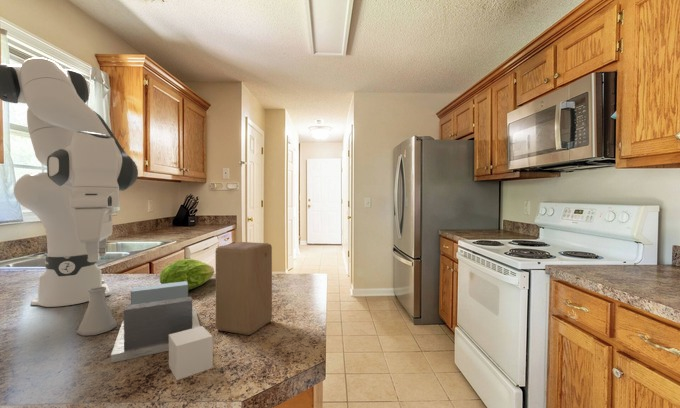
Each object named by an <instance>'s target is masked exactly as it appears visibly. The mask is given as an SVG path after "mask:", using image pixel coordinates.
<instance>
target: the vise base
mask: <svg viewBox="0 0 680 408" xmlns="http://www.w3.org/2000/svg"><path fill="white" fill-rule="evenodd" d="M200 326H201V325H200V321H199V318H198V314H197V311H196V309H193V298H192V296H188V297H184V298H177V299H170V300H163V301H156V302H148V303H141V304H134V305H131V304H128V305H125V306H124V309H123V320H122V322H121V324H120V328H119V331H118V334H117V336H116V340H115V342H114V346H113V348H112V351H111V353H110V363H111V364H113V363H117V362H122V361H126V360H131V359H132V360H133V359H135V358H136V359H137V358H140V357H141V358H142V357H145V356H146V357H147V356H149V355H154V354H158V353H164V352H169V334H173V333H177V332H181V331H185V330H189V329H193V328H196V327H200Z"/></svg>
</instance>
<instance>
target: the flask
mask: <svg viewBox="0 0 680 408" xmlns="http://www.w3.org/2000/svg"><path fill="white" fill-rule="evenodd" d="M105 290H106V287H95V288H91V289H89V290H88V292H90V300H89V301H88V304H87V308H86V310H85V312H84V315H83V318H82V320H81V322H80V324H79V326H78V328H77V331H76V334H77V335H80V336H97V335H100V334H103V333H106V332H110V331H112V330H113V329H114V328H117V327H118V324H117V321H116V320H115V317H114V316H113V313H112V312H111V309H110V307H109V306H108V303H107V300H106V296H105Z"/></svg>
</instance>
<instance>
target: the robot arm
mask: <svg viewBox="0 0 680 408" xmlns="http://www.w3.org/2000/svg"><path fill="white" fill-rule="evenodd" d="M90 92H91V90H90V86H89V83H88V81H87V79H86V78H85V76H84V75H83V74H82V73H81V72H79V71H76V70H73V69H69V68H65V69H63V68H62V66H61V65H59V64H58V63H57V62H55V61H53V60H51V59H47V58H45V57H31V58H28V59H26V60H24V62H23V63H22V64H8V63H0V100H1V101H3V102H4V103H5V102H6V103H11V104H26V105H27V110H26V121H27V122H26V123H27V128H28V134H29V137H30V141H31V144H32V148H33V151H34V155H35V158H36V160H37V161H38V162H39V163H40V164H42V165H43V166H44V167H46V171H45V172H37V173H36V172H33V173H26V174H23V175H22V176H21V177H19V178H18V179H17V181H16V182H15V184H14V188H13V194H14V198H15V199H16V201H17V203H19V204H20V205H21V206H22V207H23V208H25V209H28V210H29V211H31V212H32V213H34V214H35V216H36V217H37V218H38V219H39V220H40V222H41V223H42V225H43V227H44V230H45V235H46V248H47V250H46V251H47V255H46V256H45V261H44V265H45V266H44V267H45V269H46V270H45V271H44V272H43V273H41V274H40V275H39V277H38V287H37V289H38V290H37V298H35V299H33V300H31V301H30V305H31V306H41V307H46V308H50V307H54V308H55V307H56V308H57V307H64V306H70V305H71V306H72V305H78V304H82V303H86V302H89V300H90V292H88V290H89V289H91V288H95V287H106V290H105V297H107V296H110V295H111V291H110V289H109V286H108V284H107V283H105V280H104V279H102V275H103V274H102V269H100V267H99V266H98V265H97V263H98V262H99V260H100V257H103V256H104V257H105V256H106V255H107V245H108V238H110V237H111V236H112V235H113V231H114V230H113V215H114V208H119V207H120V192H121V191H122V192H123V191H125V190H127V189H129V188H130V187H131V186H133V185H134V184H135V183H136V182H137V181H138V180H137V179H138V177H139V169H138V166H137V164H136V162H135V160H134V159H133V158H132V157H131V156H130V155H129V154H128V153H127V152H126V151H125V150H124V149H123V147H122V144H120V142H119V141H118V140H117V137H116V136H115V135H114V133H113V131H112V130H111V129H110V127H109V125H108V124H107V122H105V120H104V119H103V117H102V116H101V115H100V114H99V113H97V112H96V111H94V110H93V109H92V108H91V107H90V106H89V105H88V104H87V102H88V101H89V99H90V98H89V97H90Z"/></svg>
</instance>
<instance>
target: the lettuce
mask: <svg viewBox="0 0 680 408" xmlns="http://www.w3.org/2000/svg"><path fill="white" fill-rule="evenodd" d="M214 274H215V268H214V266H212V265H210V264H208V263H206V262H203V261H200V260H198V259H194V258H193V259H192V258H184V259H180V260H177V261H174V262H172V263H170V264H168V265H167V266H164V267H163V269H162V270H161V272H160V274H159V284H167V283H175V282H184V281H187V283H188V291H191V290H193V289H194V288H197V287H199V286H202V285H203V284H205V283H206V282H207V281H210V279H211V278H212V277H213V275H214Z"/></svg>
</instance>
